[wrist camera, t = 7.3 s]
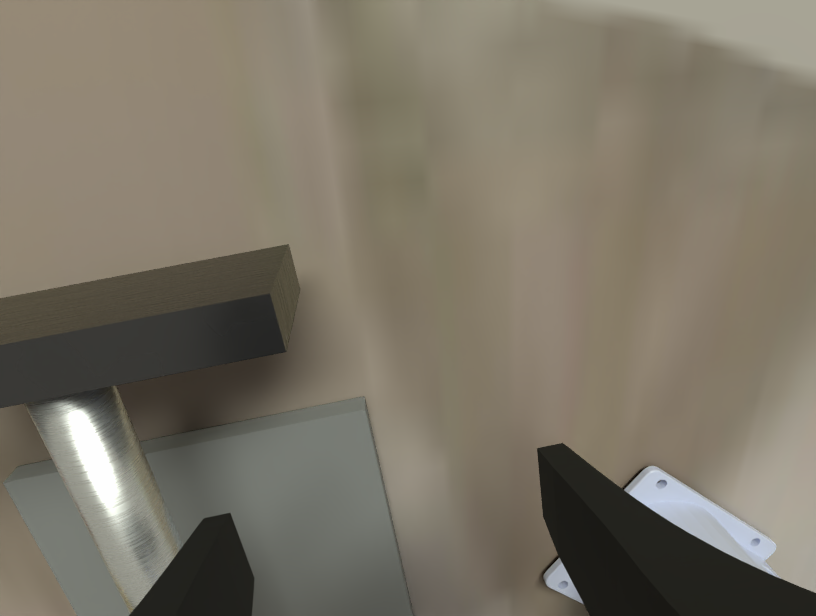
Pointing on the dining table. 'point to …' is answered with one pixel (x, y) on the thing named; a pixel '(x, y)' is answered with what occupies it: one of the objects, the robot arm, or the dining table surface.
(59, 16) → the dining table surface
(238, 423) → the mat
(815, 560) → the dining table surface
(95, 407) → the grey and silver t-piece
